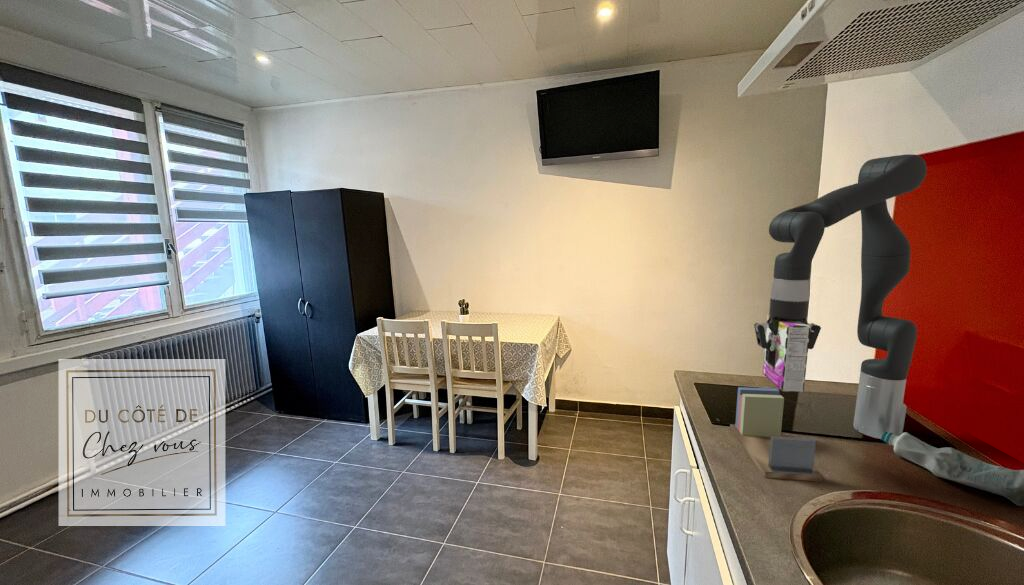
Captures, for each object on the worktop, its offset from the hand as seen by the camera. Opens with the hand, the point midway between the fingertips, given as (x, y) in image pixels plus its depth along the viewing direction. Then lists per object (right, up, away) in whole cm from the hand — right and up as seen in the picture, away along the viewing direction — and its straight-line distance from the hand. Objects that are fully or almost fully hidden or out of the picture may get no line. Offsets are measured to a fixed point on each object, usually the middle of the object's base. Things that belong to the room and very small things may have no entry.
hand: (783, 364), depth 95 cm
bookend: (-1, -25, -4) cm, 25 cm away
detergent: (+36, -25, -5) cm, 44 cm away
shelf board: (+1, -24, +6) cm, 25 cm away
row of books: (+2, -22, +13) cm, 25 cm away
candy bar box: (0, -5, +1) cm, 5 cm away
